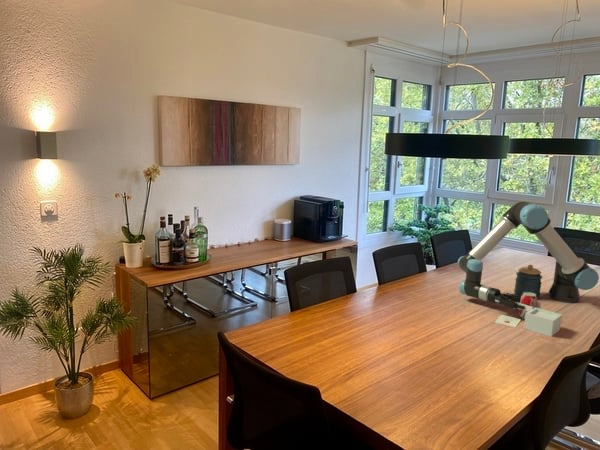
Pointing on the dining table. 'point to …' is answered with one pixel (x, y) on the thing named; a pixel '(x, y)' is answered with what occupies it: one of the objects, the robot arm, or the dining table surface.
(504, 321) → the cream flat plate
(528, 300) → the soda can
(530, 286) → the canister
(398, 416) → the dining table surface
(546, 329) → the base block
